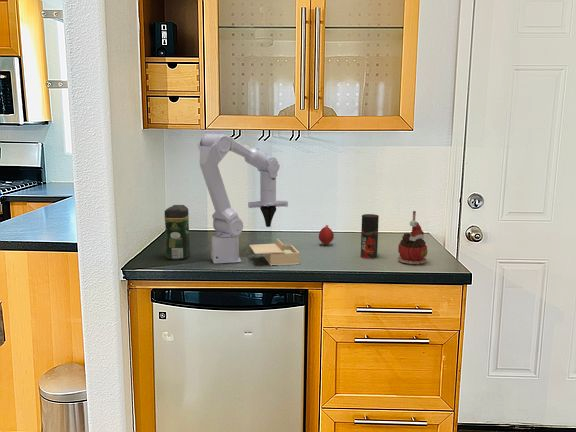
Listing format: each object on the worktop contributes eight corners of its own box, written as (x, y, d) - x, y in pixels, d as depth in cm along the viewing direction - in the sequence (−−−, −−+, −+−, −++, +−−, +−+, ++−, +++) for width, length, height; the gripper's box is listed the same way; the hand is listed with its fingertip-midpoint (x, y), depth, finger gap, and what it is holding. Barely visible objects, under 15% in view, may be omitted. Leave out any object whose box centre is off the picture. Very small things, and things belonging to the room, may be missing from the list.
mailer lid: (255, 254, 184) (255, 247, 183) (249, 245, 195) (249, 239, 195) (285, 252, 186) (285, 245, 185) (277, 244, 198) (277, 237, 197)
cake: (409, 256, 199) (411, 207, 195) (432, 262, 192) (434, 211, 189) (391, 262, 192) (393, 211, 188) (414, 267, 185) (417, 214, 182)
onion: (321, 247, 212) (321, 226, 211) (316, 243, 218) (316, 223, 216) (335, 246, 214) (336, 226, 212) (330, 243, 219) (330, 223, 218)
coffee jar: (170, 253, 201) (168, 203, 198) (191, 253, 201) (190, 203, 197) (163, 260, 192) (161, 207, 188) (186, 260, 191) (184, 208, 188)
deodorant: (379, 255, 200) (381, 215, 197) (373, 259, 195) (374, 217, 192) (364, 253, 203) (365, 213, 200) (357, 257, 198) (359, 216, 195)
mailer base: (270, 265, 186) (270, 254, 185) (264, 256, 197) (264, 246, 196) (299, 264, 188) (299, 252, 187) (291, 255, 199) (291, 244, 199)
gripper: (250, 191, 196) (250, 229, 198) (290, 190, 199) (289, 227, 202) (246, 189, 202) (247, 225, 205) (285, 188, 206) (285, 223, 209)
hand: (268, 226), depth 204 cm, fingers closed
